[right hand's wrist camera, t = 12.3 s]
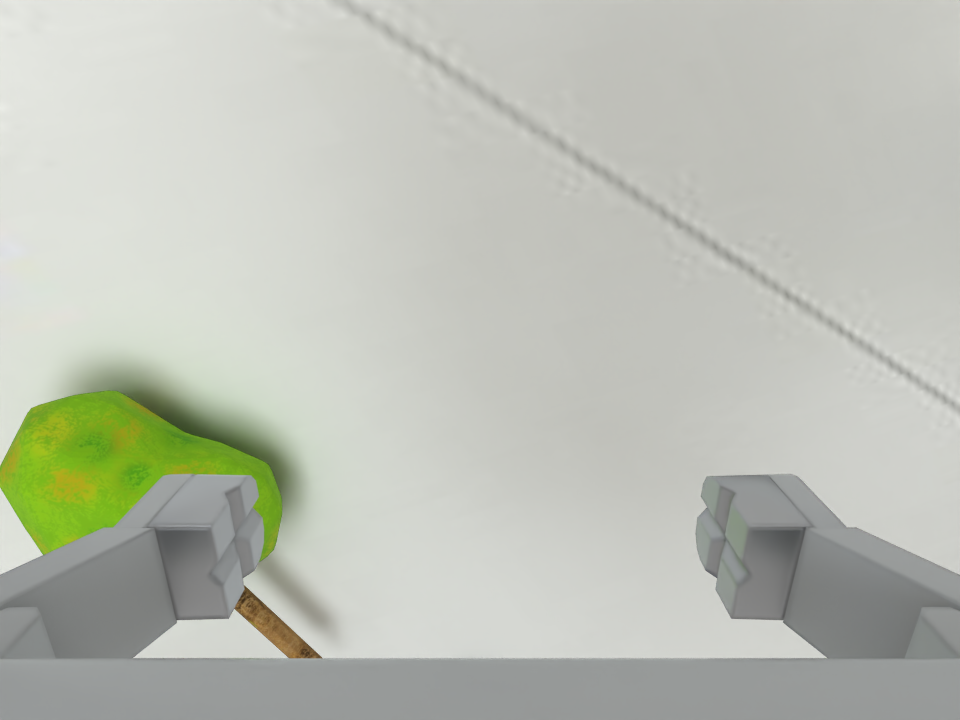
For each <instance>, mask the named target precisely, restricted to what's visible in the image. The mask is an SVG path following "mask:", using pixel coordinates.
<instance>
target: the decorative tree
mask: <svg viewBox="0 0 960 720" xmlns="http://www.w3.org/2000/svg"><path fill="white" fill-rule="evenodd" d="M170 474H195V475H197V474H206V475H251V476H252V477H253V478H254V479H255V480H256V483H257V488H258V493H259V497H258V499H257V501H256V502H255V504H254V506H253V508H254V509H255V510H256V511H257V512H258V513H259V514H260V516H261V517H262V518H263V525H264V544H263V549H262V553H261V558H260V560H259V562H260V561H261V560H263V559H264V558H266V557H267V556H268V555H269V554H270V553H271V552H272V551H273V550H274V548H275V545H276V541H277V536H278V531H279V526H280V521H281V516H282V498H281V494H280V492H279V489H278V486H277V484H276V481H275V478H274V475H273V473H272V470H271V468H270V466H269V465H268V464H267V463H265V462H264V461H262V460H259V459H257V458H255V457H253V456H250V455H248V454H246V453H244V452H241V451H239V450H237V449H235V448H232V447H230V446H228V445H225V444H223V443H221V442H217V441H213V440H210V439H206V438H202V437H198V436H194V435H191V434H188V433H185V432H184V431H182V430H180V429H179V428H177V427H175V426H174V425H172V424H170V423H169V422H167V421H166V420H164V419H162V418H161V417H159V416H158V415H156V414H154V413H153V412H151V411H150V410H148V409H147V408H145V407H143V406H142V405H140V404H139V403H137V402H135V401H134V400H132V399H131V398H129V397H127V396H126V395H124V394H122V393H120V392H118V391H101V392H93V393H85V394H78V395H73V396H69V397H65V398H62V399H58V400H55V401H51V402H48V403H44V404H41V405H38V406H36V407H33V408H31V409H30V411H29V412H28V413H27V415H26V417H25V419H24V421H23V423H22V425H21V427H20V429H19V430H18V432H17V434H16V436H15V438H14V440H13V442H12V444H11V446H10V448H9V450H8V452H7V454H6V456H5V458H4V460H3V462H2V464H1V466H0V488H1V489H2V491H3V493H4V494H5V496H6V498H7V499H8V501H9V503H10V504H11V506H12V508H13V509H14V511H15V513H16V514H17V516H18V517H19V519H20V521H21V522H22V524H23V526H24V527H25V529H26V530H27V532H28V533H29V535H30V536H31V537H32V539H33V540H34V542H35V543H36V545H37V546H38V548H39V549H40V551H41V552H42V554H43V555H45V554H47V553H49V552H51V551H54V550H56V549H58V548H60V547H62V546H65V545H67V544H69V543H71V542H73V541H76V540H78V539H80V538H82V537H84V536H86V535H89V534H91V533H93V532H95V531H97V530H100V529H102V528H113V527H114V526H115V525H116V524H117V523H118V522H119V521H120V520H121V519H122V518H123V517H124V516H125V515H126V514H127V513H128V512H129V510H130V509H131V508H132V507H133V506H134V505H135V504H136V503H137V502H138V501H139V500H140V499H141V498H142V497H143V496H144V495H145V494H146V493H147V492H148V491H149V490H150V489H151V488H152V487H153V486H154V485H155V484H156V483H157V481H158V480H159V479H160V478H161V477H162V476H165V475H170ZM259 562H258V563H259ZM234 609H235V610H236V611H237V612H239V613H240V614H241V615H242V616H243V617H244V618H245V619H246V620H247V621H249V622H250V623H251V624H252V625H253V626H254V627H255V628H256V629H257V630H258V631H260V632H261V633H262V634H263V635H264V636H265V637H266V638H267V639H268V640H270V641H271V642H272V643H273V644H274V645H275V646H276V647H277V648H278V649H280V650H281V651H282V652H283V653H284V654H285V655H286V656H287V657H288V658H322V657H321V656H320V655H319V654H318V653H316V652H315V651H314V650H313V649H312V648H311V647H310V646H309V645H308V644H307V643H306V642H305V641H304V640H303V639H301V638H300V637H299V636H298V635H297V634H296V633H295V632H294V631H293V630H292V629H291V628H290V627H289V626H287V625H286V624H285V623H284V622H283V621H282V620H281V619H280V618H279V617H278V616H277V615H276V614H275V613H273V612H272V611H271V610H270V609H269V608H268V607H267V606H266V605H265V604H264V603H263V602H262V601H261V600H260V599H258V598H257V597H256V596H255V595H254V594H253V593H252V592H251V591H250V590H249V589H248V588H247V587H246V586H244V591H243V593H242V595H241V597H240V599H239V600H238V602H237V604H236V606H235V608H234Z"/></svg>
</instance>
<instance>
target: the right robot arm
mask: <svg viewBox="0 0 960 720" xmlns="http://www.w3.org/2000/svg"><path fill="white" fill-rule="evenodd" d="M258 497H259V493H258V488H257V483H256V480H255V479H254V478H253V477H252V476H251V475H206V474H197V475H195V474H170V475H165V476H162V477H161V478H160V479H159V480H158V481H157V483H156V484H155V485H154V486H153V487H152V488H151V489H150V490H149V491H148V492H147V493H146V494H145V495H144V496H143V497H142V498H141V499H140V500H139V501H138V502H137V503H136V504H135V505H134V506H133V507H132V508H131V509H130V510H129V512H128V513H127V514H126V515H125V516H124V517H123V518H122V519H121V520H120V521H119V522H118V523H117V524H116V525H115V526H114V527H113V528H102V529H100V530H97V531H95V532H93V533H91V534H89V535H86V536H84V537H82V538H80V539H78V540H76V541H73V542H71V543H69V544H67V545H65V546H62V547H60V548H58V549H56V550H54V551H51V552H49V553H47V554H45V555H43V556H41V557H38V558H36V559H34V560H32V561H30V562H27V563H25V564H23V565H21V566H19V567H16V568H14V569H12V570H10V571H8V572H6V573H3V574H1V575H0V720H960V575H959V574H956V573H954V572H952V571H950V570H948V569H945V568H943V567H941V566H939V565H937V564H935V563H932V562H930V561H928V560H926V559H924V558H921V557H919V556H917V555H915V554H913V553H911V552H908V551H906V550H904V549H902V548H900V547H898V546H895V545H893V544H891V543H889V542H887V541H884V540H882V539H880V538H878V537H876V536H874V535H871V534H869V533H867V532H865V531H863V530H860V529H858V528H847V527H846V526H845V525H844V524H843V523H842V522H841V521H840V520H839V519H838V518H837V517H836V516H835V515H834V514H833V512H832V511H831V510H830V509H829V508H828V507H827V506H826V505H825V504H824V503H823V502H822V501H821V500H820V499H819V498H818V497H817V496H816V495H815V494H814V493H813V492H812V491H811V490H810V489H809V488H808V487H807V485H806V484H805V483H804V482H803V481H802V480H801V479H800V478H799V477H798V476H795V475H793V474H770V475H738V476H707V477H706V479H705V481H704V483H703V487H702V493H701V497H702V499H703V501H704V502H705V504H706V506H707V508H706V509H705V510H704V511H703V512H702V513H701V514H700V515H699V517H698V518H697V526H696V543H697V550H698V554H699V557H700V560H701V562H702V564H703V566H704V568H705V570H706V571H707V572H709V573H710V574H712V575H713V576H715V577H716V578H717V583H716V591H717V593H718V595H719V597H720V599H721V600H722V602H723V604H724V606H725V608H726V610H727V612H728V613H729V615H730V617H731V619H762V620H783V623H784V624H786V625H787V626H788V627H789V628H791V629H792V630H793V631H794V632H796V633H797V634H798V635H799V636H801V637H802V638H803V639H804V640H806V641H807V642H808V643H809V644H811V645H812V646H813V647H814V648H816V649H817V650H818V651H819V652H821V653H822V654H823V655H824V656H826V657H827V658H133V657H134V656H136V655H137V654H138V653H139V652H141V651H142V650H143V649H144V648H146V647H147V646H148V645H149V644H151V643H152V642H153V641H155V640H156V639H157V638H158V637H160V636H161V635H162V634H163V633H165V632H166V631H167V630H168V629H170V628H171V627H172V626H173V625H175V624H176V623H177V621H176V620H197V619H229V617H230V615H231V613H232V612H233V610H234V608H235V606H236V604H237V602H238V600H239V599H240V597H241V595H242V593H243V591H244V583H243V578H244V577H245V576H247V575H248V574H250V573H251V572H253V571H254V570H255V568H256V566H257V564H258V562H259V560H260V558H261V553H262V549H263V544H264V525H263V518H262V517H261V516H260V514H259V513H258V512H257V511H256V510H255V509H254V508H253V506H254V504H255V502H256V501H257V499H258Z"/></svg>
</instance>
